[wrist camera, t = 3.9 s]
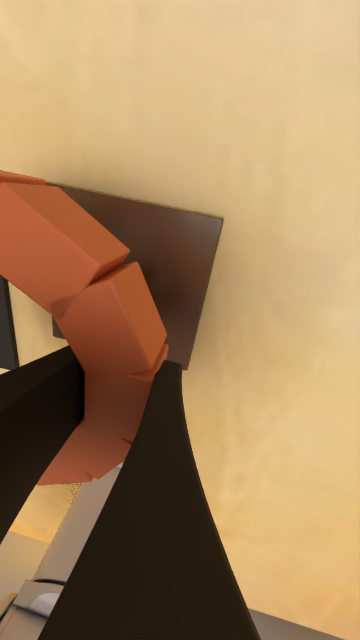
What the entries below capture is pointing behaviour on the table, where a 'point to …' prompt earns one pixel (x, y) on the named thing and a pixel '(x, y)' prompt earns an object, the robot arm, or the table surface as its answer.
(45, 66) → the table surface
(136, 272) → the ring
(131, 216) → the stand
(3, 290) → the tray
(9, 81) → the table surface
